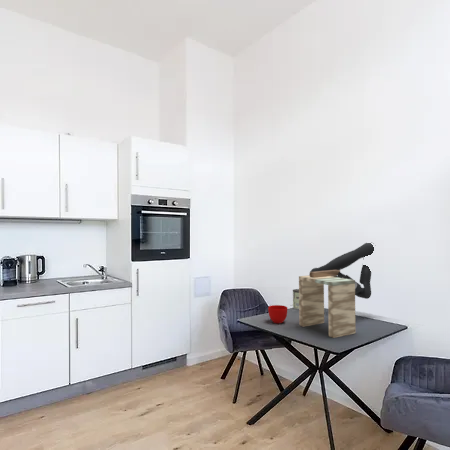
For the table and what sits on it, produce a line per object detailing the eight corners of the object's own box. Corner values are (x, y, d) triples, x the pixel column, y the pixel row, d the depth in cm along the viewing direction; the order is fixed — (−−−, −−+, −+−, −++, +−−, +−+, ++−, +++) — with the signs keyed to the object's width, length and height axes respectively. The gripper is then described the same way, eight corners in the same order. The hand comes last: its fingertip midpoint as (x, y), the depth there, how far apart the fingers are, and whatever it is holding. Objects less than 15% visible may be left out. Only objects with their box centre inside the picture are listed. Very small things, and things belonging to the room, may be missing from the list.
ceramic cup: (286, 318, 243) (286, 304, 243) (288, 324, 226) (288, 309, 226) (267, 317, 244) (267, 303, 244) (268, 324, 227) (268, 309, 227)
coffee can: (304, 306, 279) (304, 288, 279) (307, 309, 268) (307, 291, 269) (291, 306, 279) (291, 289, 279) (294, 309, 268) (294, 291, 268)
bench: (299, 325, 225) (298, 276, 225) (319, 321, 234) (319, 274, 234) (333, 337, 199) (333, 282, 199) (355, 333, 207) (354, 280, 207)
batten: (309, 277, 222) (309, 272, 222) (335, 274, 233) (335, 269, 233) (314, 277, 218) (314, 272, 218) (340, 275, 229) (340, 270, 229)
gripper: (342, 276, 243) (327, 266, 236) (359, 279, 230) (344, 268, 224) (338, 286, 241) (323, 276, 235) (355, 289, 229) (340, 278, 222)
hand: (333, 272), depth 229 cm, fingers open, 8 cm apart
